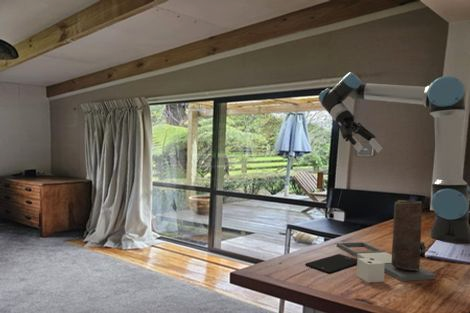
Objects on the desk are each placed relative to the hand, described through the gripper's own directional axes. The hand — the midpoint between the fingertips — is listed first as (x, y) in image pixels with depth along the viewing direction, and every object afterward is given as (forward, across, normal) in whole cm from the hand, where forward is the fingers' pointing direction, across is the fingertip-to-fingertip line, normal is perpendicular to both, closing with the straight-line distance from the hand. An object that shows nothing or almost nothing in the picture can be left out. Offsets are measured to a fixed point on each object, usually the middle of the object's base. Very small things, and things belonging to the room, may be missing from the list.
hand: (370, 150), depth 144 cm
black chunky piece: (+43, +6, -9) cm, 44 cm away
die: (+46, +43, -4) cm, 64 cm away
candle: (+48, +31, -1) cm, 57 cm away
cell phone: (+37, +42, -14) cm, 58 cm away
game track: (+41, +26, -10) cm, 49 cm away
